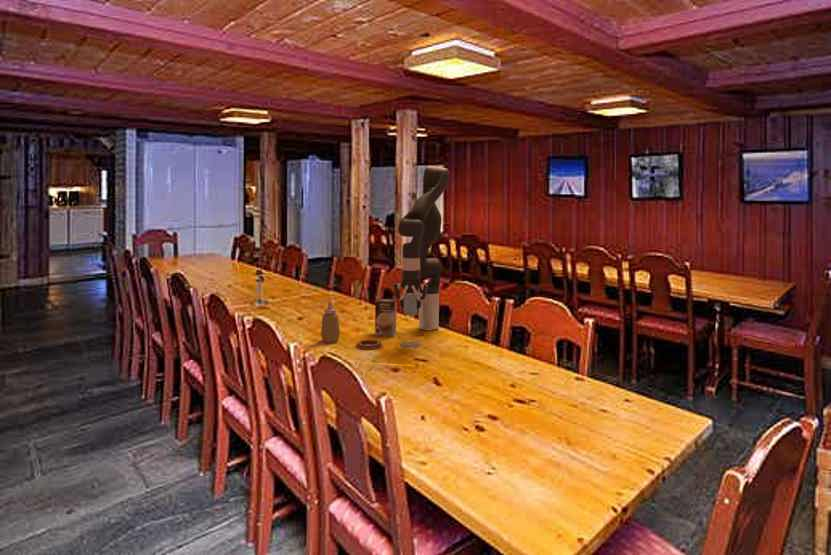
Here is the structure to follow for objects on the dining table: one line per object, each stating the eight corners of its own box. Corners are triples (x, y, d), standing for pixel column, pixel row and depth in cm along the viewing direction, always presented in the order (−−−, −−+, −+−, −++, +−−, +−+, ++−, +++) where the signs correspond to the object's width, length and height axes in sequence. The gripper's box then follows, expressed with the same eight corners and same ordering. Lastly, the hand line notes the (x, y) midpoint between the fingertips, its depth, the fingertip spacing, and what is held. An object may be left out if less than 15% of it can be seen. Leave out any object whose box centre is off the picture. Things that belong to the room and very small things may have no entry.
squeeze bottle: (336, 345, 231) (335, 303, 229) (318, 344, 233) (317, 302, 230) (342, 340, 239) (342, 299, 236) (325, 339, 241) (324, 298, 238)
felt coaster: (401, 342, 237) (401, 341, 237) (422, 343, 236) (422, 342, 236) (397, 348, 228) (397, 346, 228) (418, 349, 227) (418, 348, 227)
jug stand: (359, 342, 236) (359, 337, 236) (386, 344, 234) (386, 339, 233) (350, 350, 224) (350, 345, 224) (379, 352, 222) (379, 347, 222)
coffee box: (374, 336, 246) (374, 301, 244) (376, 332, 253) (376, 298, 250) (394, 337, 246) (394, 301, 243) (396, 333, 252) (396, 298, 249)
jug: (404, 312, 233) (405, 293, 232) (418, 312, 232) (418, 293, 231) (399, 316, 222) (400, 296, 222) (414, 317, 222) (414, 297, 221)
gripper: (391, 269, 225) (391, 309, 227) (426, 270, 222) (426, 311, 225) (395, 266, 232) (395, 306, 234) (429, 267, 229) (429, 307, 232)
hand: (410, 308), depth 230 cm, fingers closed on jug, 5 cm apart
